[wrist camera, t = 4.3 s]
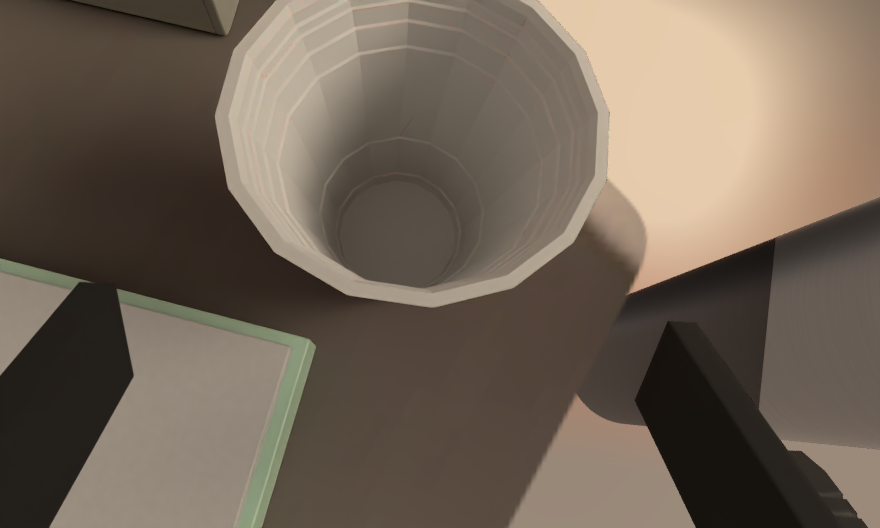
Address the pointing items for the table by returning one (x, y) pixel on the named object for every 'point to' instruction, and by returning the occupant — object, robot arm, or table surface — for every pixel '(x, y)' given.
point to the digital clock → (179, 12)
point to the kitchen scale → (174, 410)
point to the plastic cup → (414, 142)
